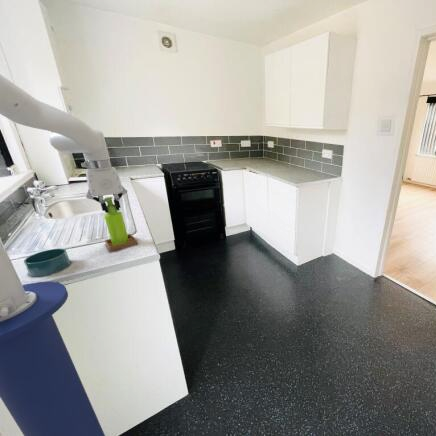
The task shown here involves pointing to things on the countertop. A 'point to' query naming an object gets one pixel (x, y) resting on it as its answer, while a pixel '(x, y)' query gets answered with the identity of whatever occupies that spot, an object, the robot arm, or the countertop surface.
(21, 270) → the countertop surface
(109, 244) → the tray
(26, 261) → the bowl
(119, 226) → the soap dispenser
